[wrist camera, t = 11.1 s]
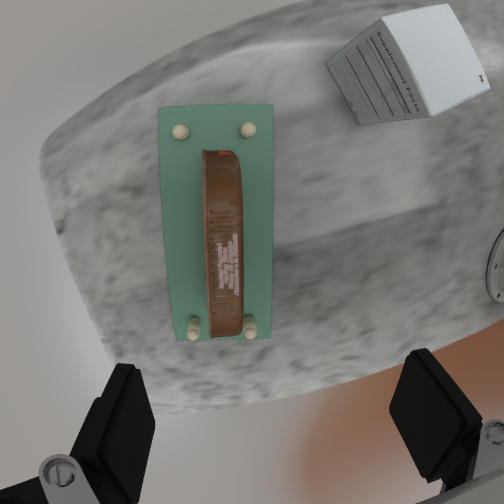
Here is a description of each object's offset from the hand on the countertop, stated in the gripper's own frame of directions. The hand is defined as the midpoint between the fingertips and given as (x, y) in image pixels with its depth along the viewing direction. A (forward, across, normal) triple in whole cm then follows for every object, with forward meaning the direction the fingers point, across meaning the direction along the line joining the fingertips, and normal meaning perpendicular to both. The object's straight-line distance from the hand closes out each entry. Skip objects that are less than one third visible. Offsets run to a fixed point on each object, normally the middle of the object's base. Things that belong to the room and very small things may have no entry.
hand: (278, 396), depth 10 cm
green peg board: (+21, +3, 0) cm, 21 cm away
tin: (+20, +3, 0) cm, 20 cm away
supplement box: (+22, -12, -16) cm, 29 cm away
